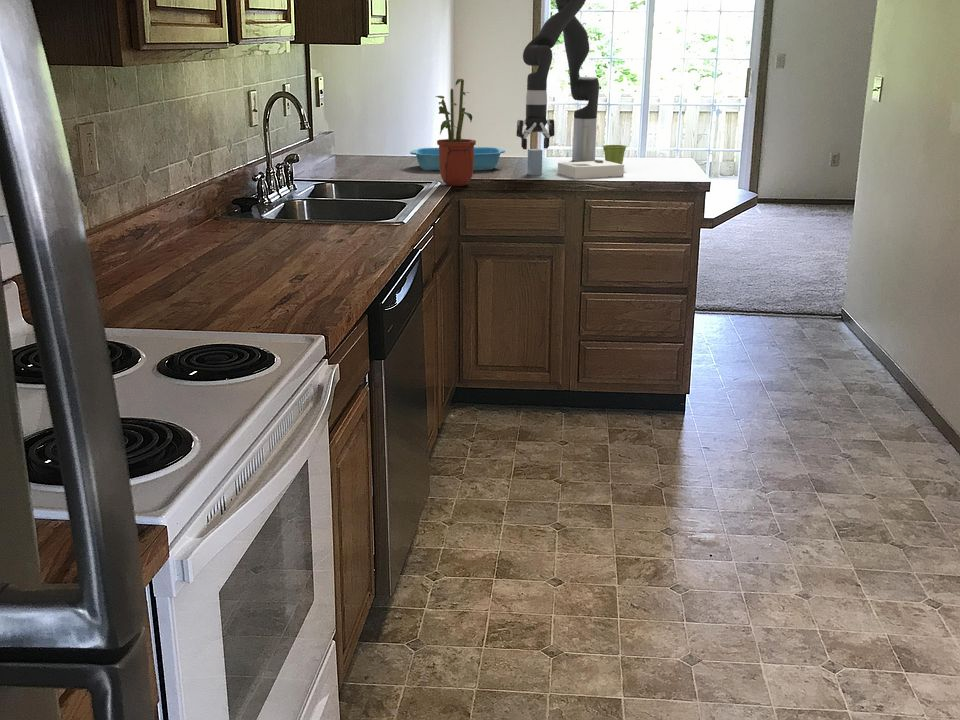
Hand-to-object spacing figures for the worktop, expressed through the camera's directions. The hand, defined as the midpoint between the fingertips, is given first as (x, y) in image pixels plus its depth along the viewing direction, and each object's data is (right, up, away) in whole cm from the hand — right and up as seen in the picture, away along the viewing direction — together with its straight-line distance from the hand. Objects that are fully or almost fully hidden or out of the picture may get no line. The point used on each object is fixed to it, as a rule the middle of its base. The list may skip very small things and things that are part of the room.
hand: (535, 148), depth 354 cm
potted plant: (-31, -18, -24) cm, 43 cm away
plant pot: (+32, -3, +20) cm, 38 cm away
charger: (0, -9, +3) cm, 9 cm away
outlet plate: (+21, -9, +3) cm, 23 cm away
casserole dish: (-29, -3, +21) cm, 36 cm away
